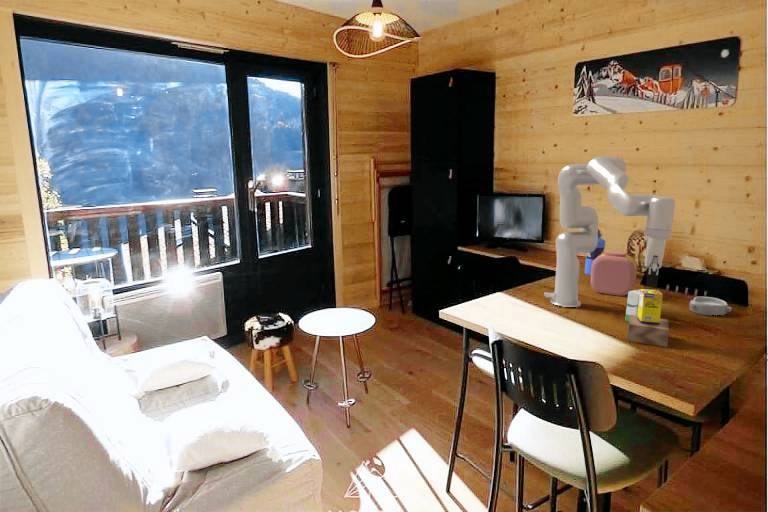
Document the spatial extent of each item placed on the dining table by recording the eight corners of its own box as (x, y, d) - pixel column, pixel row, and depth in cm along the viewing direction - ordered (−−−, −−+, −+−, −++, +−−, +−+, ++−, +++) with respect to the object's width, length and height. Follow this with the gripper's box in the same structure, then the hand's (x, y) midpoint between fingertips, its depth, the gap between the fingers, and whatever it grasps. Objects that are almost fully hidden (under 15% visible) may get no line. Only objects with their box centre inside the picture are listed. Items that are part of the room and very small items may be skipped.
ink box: (635, 324, 185) (639, 294, 183) (624, 320, 190) (627, 291, 187) (650, 321, 189) (653, 291, 187) (638, 317, 194) (641, 288, 191)
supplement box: (659, 325, 166) (663, 294, 164) (640, 323, 168) (643, 292, 166) (655, 319, 172) (658, 289, 170) (636, 318, 173) (639, 288, 171)
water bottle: (586, 275, 264) (590, 230, 260) (582, 272, 274) (586, 228, 269) (604, 276, 263) (608, 230, 258) (599, 272, 272) (603, 228, 267)
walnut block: (627, 340, 168) (628, 324, 167) (628, 330, 179) (629, 314, 177) (667, 346, 163) (669, 329, 162) (665, 335, 173) (667, 319, 172)
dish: (689, 314, 198) (691, 302, 197) (685, 305, 210) (687, 294, 210) (732, 319, 192) (734, 307, 191) (725, 309, 204) (727, 298, 203)
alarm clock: (634, 293, 230) (638, 252, 226) (632, 298, 221) (636, 256, 217) (592, 287, 240) (596, 249, 236) (588, 292, 230) (592, 252, 227)
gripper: (645, 229, 173) (639, 275, 177) (645, 236, 158) (638, 287, 162) (669, 230, 170) (662, 278, 173) (672, 238, 155) (664, 290, 158)
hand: (651, 282), depth 167 cm, fingers open, 9 cm apart
